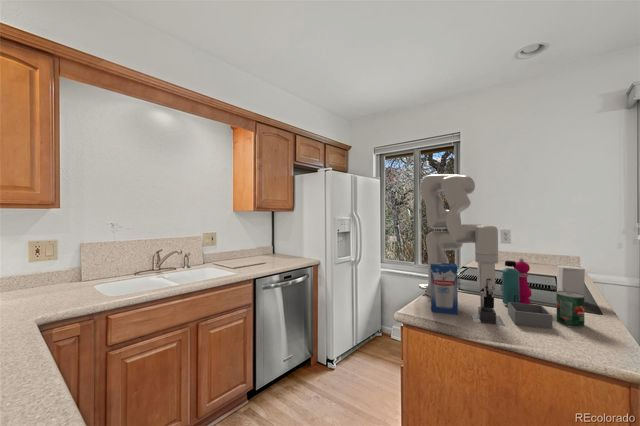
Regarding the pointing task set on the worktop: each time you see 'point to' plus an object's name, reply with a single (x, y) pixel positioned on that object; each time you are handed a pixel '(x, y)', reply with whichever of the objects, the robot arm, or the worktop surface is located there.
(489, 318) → the silver rounded piece
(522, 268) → the pepper mill
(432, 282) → the milk carton
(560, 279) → the skincare box
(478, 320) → the stud plate
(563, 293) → the canned tomato
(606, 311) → the worktop surface
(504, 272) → the beverage bottle
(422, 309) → the worktop surface
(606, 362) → the worktop surface
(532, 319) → the bin
